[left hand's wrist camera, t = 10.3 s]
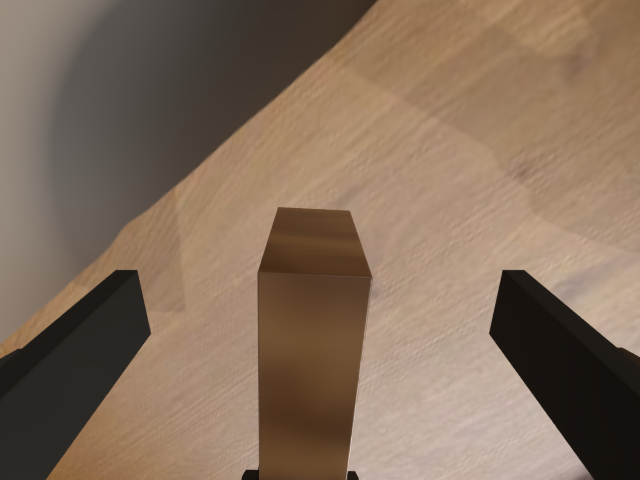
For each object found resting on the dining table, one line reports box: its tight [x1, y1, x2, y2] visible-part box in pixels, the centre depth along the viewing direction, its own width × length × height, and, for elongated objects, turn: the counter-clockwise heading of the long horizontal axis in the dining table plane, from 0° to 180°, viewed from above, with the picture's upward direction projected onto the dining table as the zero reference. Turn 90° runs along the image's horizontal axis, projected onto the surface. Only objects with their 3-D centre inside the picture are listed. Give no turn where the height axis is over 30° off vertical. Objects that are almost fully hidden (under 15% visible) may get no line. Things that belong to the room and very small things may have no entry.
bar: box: [258, 207, 373, 480], centre depth 23 cm, size 24×5×9 cm, turn 177°
